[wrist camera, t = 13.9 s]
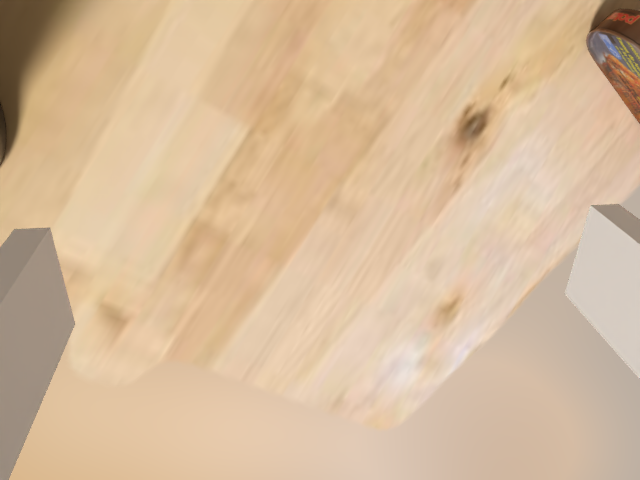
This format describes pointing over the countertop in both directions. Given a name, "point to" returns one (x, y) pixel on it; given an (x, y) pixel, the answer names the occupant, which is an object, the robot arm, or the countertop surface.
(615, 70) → the tin
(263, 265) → the countertop surface
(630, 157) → the countertop surface
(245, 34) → the countertop surface
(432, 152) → the countertop surface
